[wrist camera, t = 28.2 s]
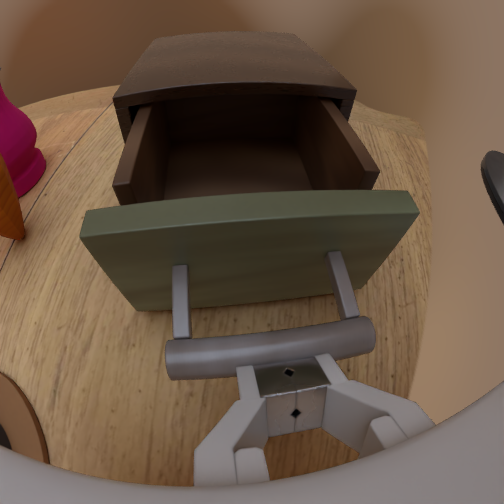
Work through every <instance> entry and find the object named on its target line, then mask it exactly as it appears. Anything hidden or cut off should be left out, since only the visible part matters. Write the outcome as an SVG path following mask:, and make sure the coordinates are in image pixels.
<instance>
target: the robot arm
mask: <svg viewBox="0 0 504 504" xmlns="http://www.w3.org/2000/svg"><path fill="white" fill-rule="evenodd" d="M236 373H237V381H238V390H239V398H240V400H238V401H235V402H234V403H233V405H232V406H231V407H230V408H229V410H228V411H227V412H226V413H225V415H224V416H223V417H222V418H221V419H220V421H219V422H218V423H217V424H216V426H215V427H214V428H213V429H212V430H211V431H210V433H209V434H208V435H207V436H206V437H205V438H204V440H203V441H202V442H201V443H200V444H199V445H198V447H197V448H196V449H195V450H194V487H188V486H161V485H148V484H139V483H130V482H123V481H117V480H111V479H105V478H100V477H95V476H90V475H86V474H82V473H77V472H74V471H70V470H66V469H63V468H59V467H56V466H53V465H50V464H46V463H43V462H41V461H38V460H35V459H32V458H30V457H27V456H24V455H22V454H19V453H17V452H15V451H12V450H10V449H8V448H5V447H3V446H1V445H0V504H504V381H503V382H501V383H500V384H499V385H498V386H496V387H495V388H494V389H492V390H491V391H490V392H488V393H487V394H485V395H484V396H483V397H481V398H480V399H478V400H477V401H475V402H474V403H472V404H471V405H469V406H468V407H466V408H465V409H463V410H462V411H460V412H458V413H456V414H455V415H453V416H451V417H450V418H448V419H446V420H445V421H443V422H441V423H439V424H438V425H435V423H434V422H433V421H432V420H431V419H430V418H429V417H428V416H427V414H426V413H425V412H424V411H423V410H422V409H421V408H420V407H419V405H418V404H417V403H416V402H414V401H411V400H408V399H405V398H402V397H399V396H396V395H393V394H390V393H387V392H385V391H382V390H379V389H376V388H374V387H371V386H368V385H366V384H363V383H360V382H358V381H355V380H348V379H347V377H346V376H345V375H344V373H343V372H342V370H341V369H340V368H339V366H338V365H337V363H336V362H335V360H334V359H333V358H332V356H331V355H330V354H329V353H325V354H321V355H316V356H313V357H309V358H303V359H297V360H292V361H286V362H276V363H268V364H258V365H253V366H252V365H249V366H240V367H236ZM320 427H322V429H323V430H325V431H326V432H328V433H329V434H331V435H332V436H334V437H335V438H337V439H338V440H340V441H341V442H343V443H344V444H346V445H347V446H349V447H351V448H352V449H354V450H355V451H357V452H359V453H360V454H359V456H358V459H357V460H355V461H351V462H348V463H345V464H342V465H338V466H335V467H332V468H328V469H324V470H320V471H316V472H312V473H308V474H303V475H299V476H294V477H289V478H283V479H277V480H271V481H270V477H269V473H268V469H267V464H266V460H265V456H264V452H263V448H264V446H265V444H266V442H267V440H268V437H274V436H279V435H284V434H289V433H294V432H300V431H305V430H310V429H315V428H320Z"/></svg>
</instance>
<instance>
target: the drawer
mask: <svg viewBox="0 0 504 504" xmlns="http://www.w3.org/2000/svg"><path fill="white" fill-rule="evenodd" d="M379 173H380V170H379V168H378V167H377V165H376V163H375V162H374V160H373V159H372V157H371V155H370V154H369V152H368V151H367V149H366V148H365V146H364V145H363V143H362V142H361V140H360V139H359V137H358V136H357V134H356V133H355V132H354V130H353V129H352V127H351V126H350V124H349V123H348V122H347V120H346V119H345V118H344V116H343V115H342V113H341V112H340V111H339V109H338V108H337V107H336V106H335V104H334V103H333V102H332V100H331V99H330V98H329V97H318V96H304V95H284V94H235V95H214V96H201V97H190V98H181V99H172V100H165V101H158V102H151V103H145V104H141V105H140V107H139V110H138V112H137V115H136V117H135V120H134V122H133V125H132V127H131V130H130V133H129V135H128V138H127V141H126V144H125V146H124V149H123V152H122V155H121V158H120V161H119V164H118V167H117V171H116V174H115V177H114V181H113V184H112V187H113V189H114V191H115V194H116V196H117V199H118V201H119V203H120V205H121V206H115V207H108V208H101V209H94V210H88V211H86V214H85V217H84V221H83V224H82V228H81V232H80V236H79V237H80V239H81V241H82V242H83V244H84V245H85V246H86V248H87V249H88V251H89V252H90V253H91V255H92V256H93V257H94V259H95V260H96V261H97V263H98V264H99V265H100V267H101V268H102V269H103V271H104V272H105V273H106V274H107V276H108V277H109V278H110V279H111V281H112V282H113V283H114V284H115V286H116V287H117V288H118V289H119V291H120V292H121V293H122V294H123V295H124V297H125V298H126V299H127V300H128V301H129V303H130V304H131V305H132V306H133V307H134V308H135V309H136V311H157V310H172V324H173V338H174V339H175V340H168V341H167V342H166V346H165V363H166V369H167V373H168V376H169V378H170V379H171V380H173V381H175V380H198V379H214V378H226V377H237V373H236V367H240V366H249V365H252V366H253V365H258V364H268V363H276V362H286V361H292V360H297V359H303V358H309V357H313V356H316V355H321V354H325V353H329V354H330V355H331V356H332V358H333V359H334V360H335V361H337V360H342V359H346V358H351V357H355V356H359V355H363V354H367V353H370V352H372V351H373V349H374V347H375V343H376V334H375V329H374V326H373V323H372V322H371V320H370V319H369V318H368V317H366V316H362V317H358V316H359V315H360V313H359V309H358V306H357V302H356V299H355V295H354V292H353V290H357V289H361V288H362V287H363V286H364V285H365V283H366V282H367V281H368V280H369V279H370V277H371V276H372V275H373V274H374V273H375V271H376V270H377V269H378V268H379V267H380V265H381V264H382V263H383V262H384V260H385V259H386V258H387V257H388V255H389V254H390V253H391V252H392V250H393V249H394V248H395V246H396V245H397V244H398V242H399V241H400V240H401V238H402V237H403V236H404V234H405V233H406V232H407V230H408V229H409V228H410V226H411V225H412V224H413V222H414V221H415V219H416V218H417V217H418V215H419V214H420V211H419V209H418V208H417V206H416V204H415V202H414V200H413V199H412V197H411V195H410V194H409V192H408V191H398V190H372V188H373V186H374V184H375V181H376V179H377V177H378V175H379ZM330 293H334V296H335V300H336V304H337V307H338V311H339V315H340V319H341V321H335V322H329V323H323V324H317V325H311V326H305V327H298V328H291V329H284V330H276V331H268V332H260V333H251V334H242V335H231V336H220V337H208V338H194V339H192V323H191V308H202V307H214V306H226V305H237V304H247V303H257V302H266V301H275V300H284V299H292V298H300V297H308V296H315V295H323V294H330Z"/></svg>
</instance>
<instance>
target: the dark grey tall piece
mask: <svg viewBox="0 0 504 504" xmlns="http://www.w3.org/2000/svg"><path fill="white" fill-rule="evenodd" d="M0 445H1V446H3V447H5V448H8V449H10V450H12V448H11V444H10V441H9V439H8V436H7V434H6V432H5V430H4V428H3V427H2V425H1V424H0Z"/></svg>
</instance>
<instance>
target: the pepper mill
mask: <svg viewBox="0 0 504 504" xmlns="http://www.w3.org/2000/svg"><path fill="white" fill-rule="evenodd" d="M0 70H1V67H0ZM36 138H37V133H36V129H35V127H34V125H33V123H32V121H31V120H30V119H29V118H28V117H27V115H26V114H24V113H23V112H22V111H21V110H19V109H18V108H16V107H15V106H14V105H13V104H12V103H11V102H10V101H9V100H8V99H7V97H6V96H5V94H4V92H3V89H2V87H1V84H0V153H1V155H2V157H3V159H4V162H5V164H6V166H7V169H8V172H9V174H10V177H11V180H12V182H13V185H14V188H15V191H16V193H17V196H18V198H19V197H20V196H22V195H24V194H25V193H26V192H27V191H29V190H30V189H31V188H32V187H33V186H34V185H35V184H36V183H37V182H38V180H39V179H40V178H41V176H42V174H43V173H44V170H45V167H46V161H45V159H44V157H43V155H42V153H41V151H40V149H38V148H34V147H35V143H36Z"/></svg>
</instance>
